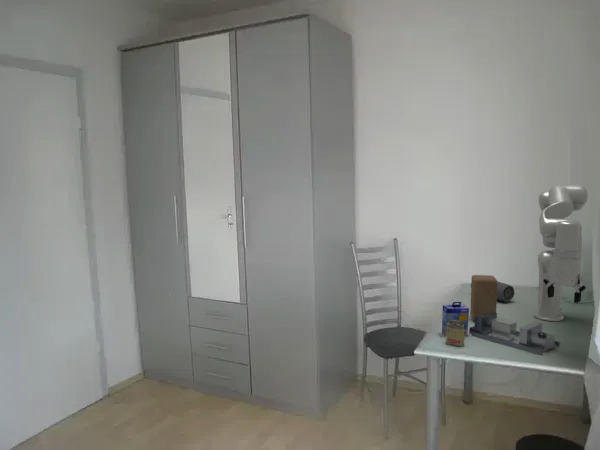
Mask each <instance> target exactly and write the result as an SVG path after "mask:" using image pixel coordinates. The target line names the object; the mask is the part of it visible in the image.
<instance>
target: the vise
mask: <svg viewBox="0 0 600 450" xmlns="http://www.w3.org/2000/svg"><path fill="white" fill-rule="evenodd" d="M497 316H498V313H497V312H496V313H495V312H491V311H490V312H487V313H484V314H481V315H478V316H475V321H474V325H473V326H470V327H468V334H471V336H473V337H475V336H476V338H479V339H482V340H487V341H490V342H494V343H497V344H500V345H504V346H507V347H511V348H514V349H517V350H521V351H525V352H527V353H528V352H529V353H531V354H535V355H539V356H542V355H543V354H544V353H543V352H544V351H543V350H540V349H536V348H533V347H529V346H525V345H522V344H519V342H518V343H517V342H515V341H514V342H513V341H512V340H511V341H507V340H504V339H500V338H496V337H493V336H491V335H489V334H491V329H492V320H493V319H496V318H498V317H497ZM519 335H520V330H516V337H519ZM555 346H556V347H560V346H561V342H560V341H558V340H555V343H554V347H555Z"/></svg>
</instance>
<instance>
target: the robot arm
mask: <svg viewBox="0 0 600 450" xmlns="http://www.w3.org/2000/svg"><path fill="white" fill-rule="evenodd" d="M588 197H589V196H588V191H587V188H586V187H585V186H584V185H582V184H556V185H553V186H551V187H550V189H549V190H547V191H543V192H541V193H540V194H539V196H538V205H539V209H540V211H541V213H540V215H539V220H538V221H539V222H538V223H539V224H538V225H539V231H540V235H541V236H542V244H543V246H544V247H545V248H551V250H543V251H540V252H539V254H538V256H537V264H538V278H539V279H538V294H537V295H538V297H537V311H535V312H534V313H533V317H534V318H536V319H538V320H541V321H547V322H561V321H563V320H564V315H563V314H561V311H563V309H564V308H563V307H562V306H561V305H562V304H561V303H562V288H563V286H564V287H570V288H573V289H574V291H575V292H574V297H573V303H574V304H578V303H580V302H581V301H582V292H584V291H585V290H587V288H588V287H589V286H590V284H591V282H590V280H589V279H586V278H585V277H584V276H582V271H581V269H582V268H581V265H582V264H581V263H582V252H583V251H582V246H583V235H582V232H583V231H582V229H583V226H582V224H581V222H580V221H579V220H578V219H573V218H568V217H570V216H571V215H572V213H573V212H575V211H576V212H578V211H581V210H582V209H583V208H584V207H585V205H586V204H587V202H588ZM581 283H583V284H582V285H581Z"/></svg>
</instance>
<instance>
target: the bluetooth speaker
mask: <svg viewBox="0 0 600 450" xmlns="http://www.w3.org/2000/svg"><path fill="white" fill-rule="evenodd" d="M514 296H515V288H514V286H512V285H510V284H507V283H504V282H501V281H499V280H497V302H499V301H504V302H510V301H512V300H513V299H514Z"/></svg>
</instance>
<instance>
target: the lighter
mask: <svg viewBox="0 0 600 450" xmlns="http://www.w3.org/2000/svg"><path fill="white" fill-rule="evenodd" d="M452 322H453V323H452ZM457 323H460V324H457ZM462 323H463V321H462V320H461V321H459V320H454V319H450V323H447V329H446V336H445V343H446V344H447V345H450V346H456V347H457V346H458V347H463V346H465V336H464V330H465V328H464V325H462Z"/></svg>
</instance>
